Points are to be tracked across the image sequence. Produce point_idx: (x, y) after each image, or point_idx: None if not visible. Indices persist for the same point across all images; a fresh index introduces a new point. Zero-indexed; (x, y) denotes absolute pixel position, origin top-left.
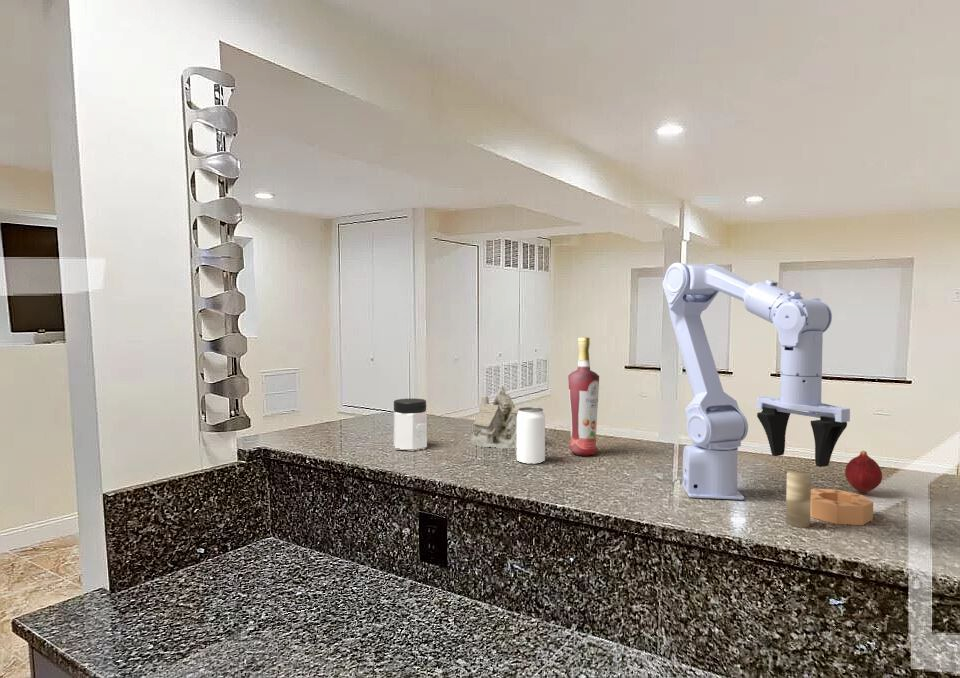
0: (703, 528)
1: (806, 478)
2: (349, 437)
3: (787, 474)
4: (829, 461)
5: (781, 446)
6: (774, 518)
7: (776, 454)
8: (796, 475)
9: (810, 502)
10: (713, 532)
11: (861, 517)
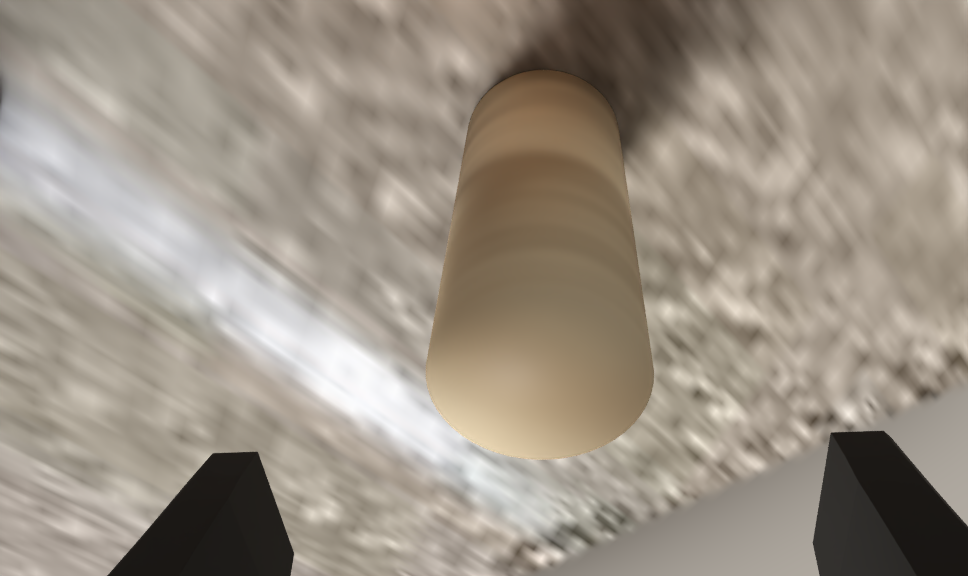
0: (413, 568)
1: (649, 391)
2: None
3: (487, 445)
4: (914, 466)
5: (232, 572)
6: (398, 190)
7: (283, 554)
8: (562, 426)
9: (618, 186)
10: (471, 566)
11: None
